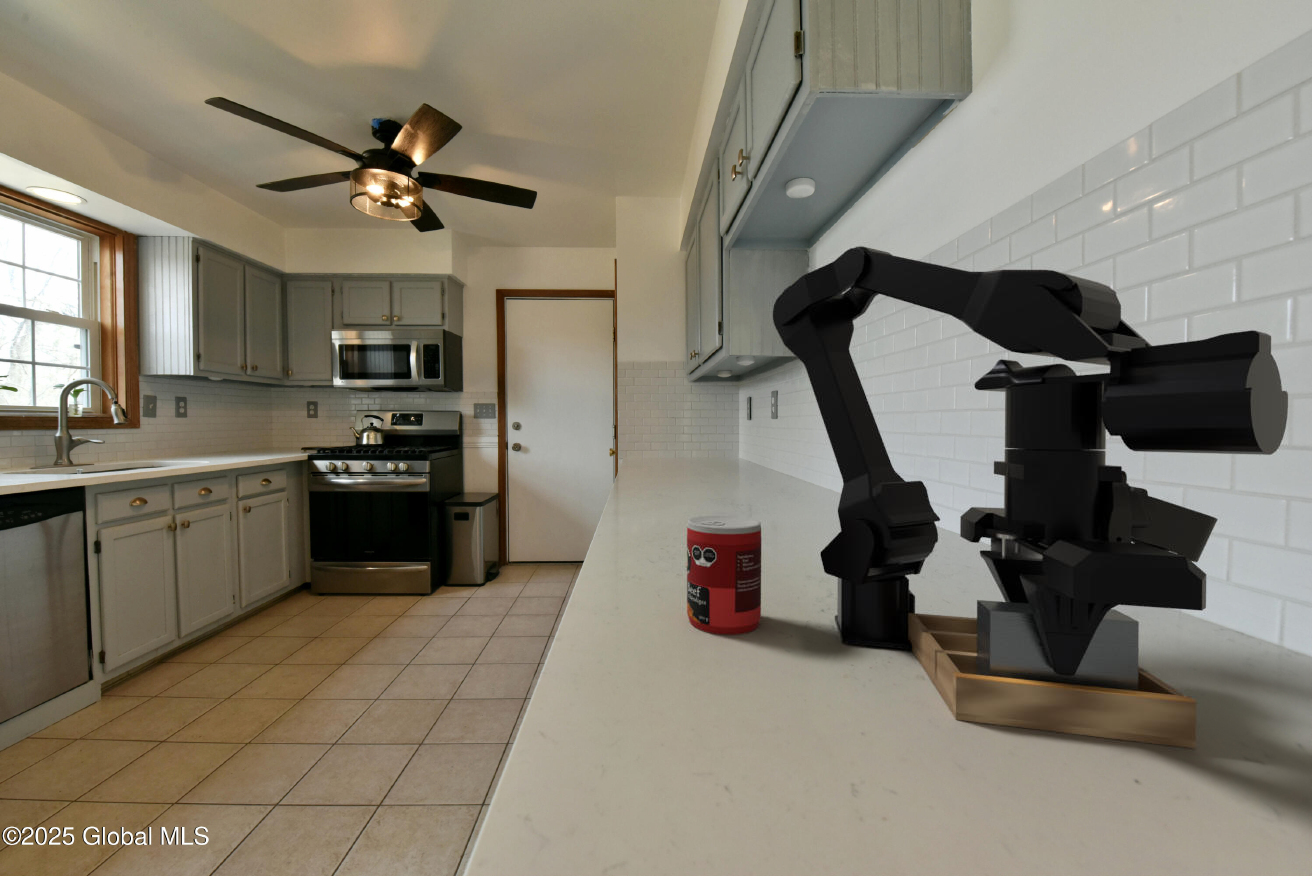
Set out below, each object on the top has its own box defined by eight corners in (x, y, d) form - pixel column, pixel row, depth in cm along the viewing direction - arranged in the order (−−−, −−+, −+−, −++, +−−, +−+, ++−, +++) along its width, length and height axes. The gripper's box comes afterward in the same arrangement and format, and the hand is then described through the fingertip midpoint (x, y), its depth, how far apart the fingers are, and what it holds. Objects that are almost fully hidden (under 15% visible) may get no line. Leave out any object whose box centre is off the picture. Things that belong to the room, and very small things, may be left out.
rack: (955, 719, 35) (956, 676, 35) (907, 643, 48) (907, 611, 48) (1195, 748, 32) (1196, 701, 32) (1075, 658, 45) (1075, 624, 45)
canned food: (685, 608, 58) (685, 515, 58) (754, 609, 57) (754, 515, 57) (688, 635, 50) (688, 527, 50) (767, 636, 50) (767, 528, 50)
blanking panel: (989, 706, 36) (990, 610, 36) (976, 689, 38) (977, 599, 38) (1137, 723, 34) (1138, 621, 34) (1114, 704, 36) (1114, 609, 36)
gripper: (1338, 457, 25) (1334, 764, 25) (1101, 447, 43) (1099, 625, 43) (1080, 454, 28) (1077, 732, 28) (958, 446, 46) (957, 614, 46)
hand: (1050, 663), depth 36 cm, fingers open, 3 cm apart
